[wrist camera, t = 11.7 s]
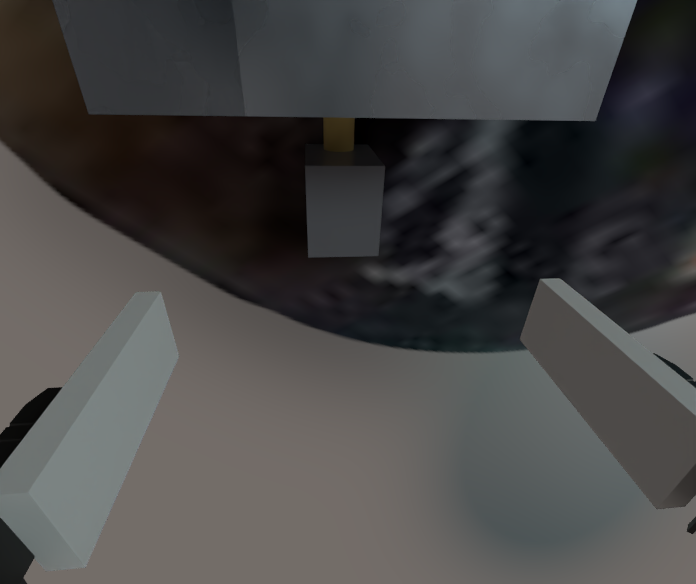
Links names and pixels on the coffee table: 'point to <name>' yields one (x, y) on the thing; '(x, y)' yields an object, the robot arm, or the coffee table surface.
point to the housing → (346, 57)
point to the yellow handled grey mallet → (343, 193)
